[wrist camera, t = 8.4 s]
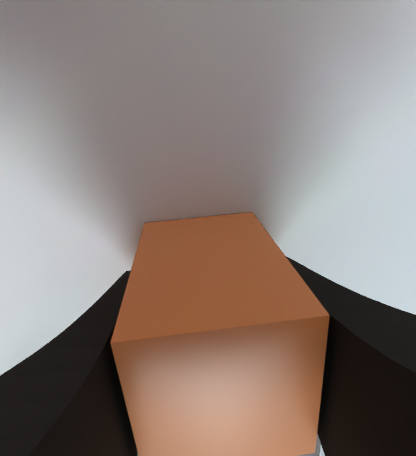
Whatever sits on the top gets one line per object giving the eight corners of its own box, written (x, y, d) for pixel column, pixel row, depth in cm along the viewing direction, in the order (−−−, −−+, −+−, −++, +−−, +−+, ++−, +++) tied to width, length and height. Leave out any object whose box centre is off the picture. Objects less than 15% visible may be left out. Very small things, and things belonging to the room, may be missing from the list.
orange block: (252, 211, 11) (329, 315, 5) (253, 300, 12) (314, 452, 7) (144, 222, 11) (110, 343, 5) (159, 312, 12) (144, 479, 7)
